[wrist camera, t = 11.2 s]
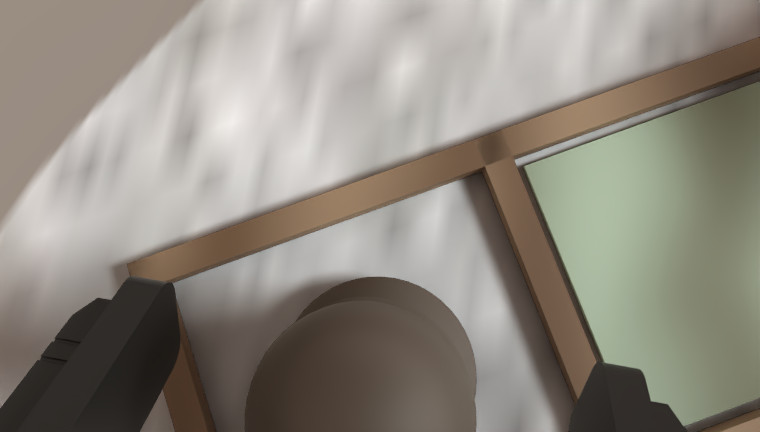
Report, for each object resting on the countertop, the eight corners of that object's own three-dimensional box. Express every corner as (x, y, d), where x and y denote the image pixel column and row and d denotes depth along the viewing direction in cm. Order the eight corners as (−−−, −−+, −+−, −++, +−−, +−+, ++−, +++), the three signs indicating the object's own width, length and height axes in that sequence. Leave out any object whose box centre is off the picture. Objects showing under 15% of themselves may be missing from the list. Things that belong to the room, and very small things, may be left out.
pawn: (433, 253, 17) (470, 180, 8) (500, 431, 16) (624, 572, 7) (261, 315, 17) (103, 312, 8) (321, 498, 16) (219, 726, 7)
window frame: (824, 18, 18) (838, 8, 17) (998, 354, 16) (1020, 355, 16) (135, 266, 17) (126, 264, 17) (244, 637, 16) (238, 650, 15)
